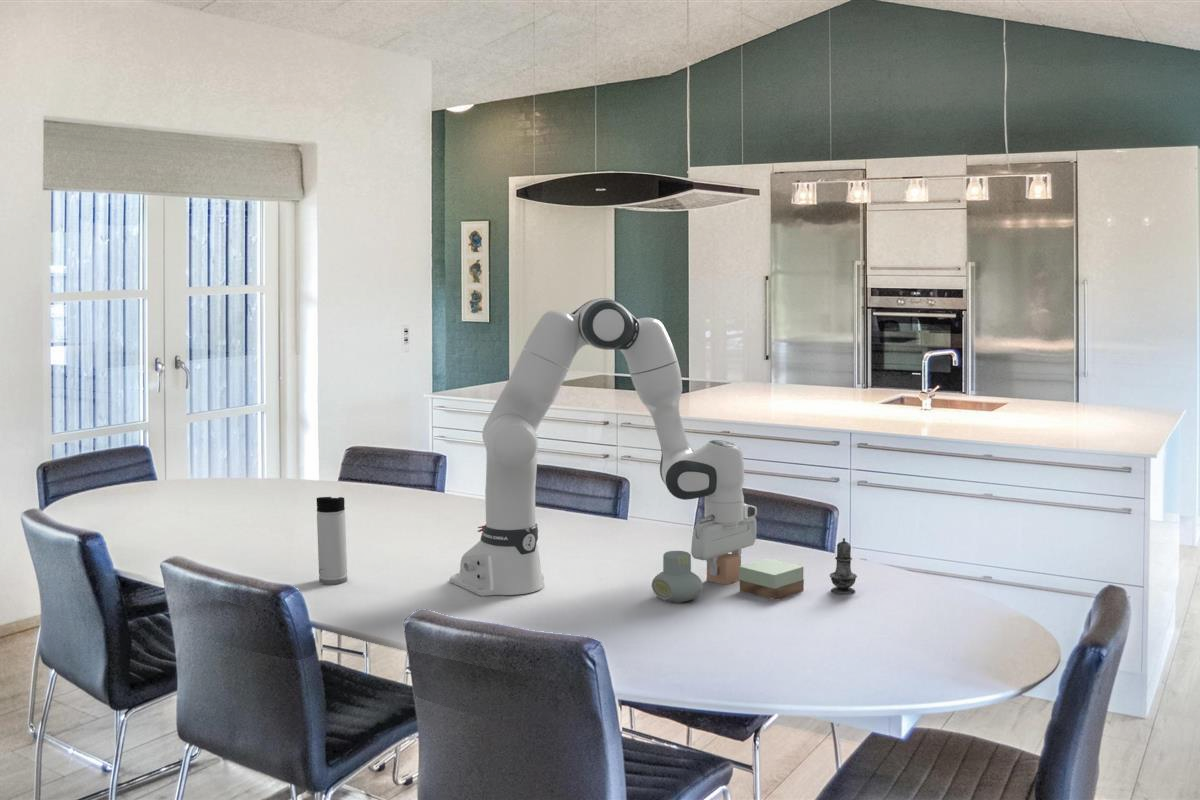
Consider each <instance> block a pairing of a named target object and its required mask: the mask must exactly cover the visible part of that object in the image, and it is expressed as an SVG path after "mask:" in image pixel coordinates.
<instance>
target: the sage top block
mask: <svg viewBox="0 0 1200 800" xmlns="http://www.w3.org/2000/svg"><path fill="white" fill-rule="evenodd" d="M803 579H804V566H803V565H799V564H794V563H789V562H785V561H781V560H777V559H773V558H763V559H760V560H756V561H752V562H750V563H745V564H741V566H739V580H738V581H740V580H742V581H746V582H750V583H754V584H758V585H762V586H766V587H769V588H773V589H776V588H779V587H782V586H785V585H788V584H792V583H795V582H798V581H801V580H803Z"/></svg>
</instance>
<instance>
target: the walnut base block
mask: <svg viewBox="0 0 1200 800" xmlns="http://www.w3.org/2000/svg"><path fill="white" fill-rule="evenodd" d="M804 584H805V580H804V578H803V580H801V581H798V582H795V583H792V584H788V585H785V586H782V587H779V588H776V589H773V588H769V587H766V586H762V585H758V584H754V583H750V582H746V581H742V580H739V592H741V593H745V594H750V595H754V596H759V597H764V598H768V599H771V600H776V601H778V600H781V599H784V598H787V597H790V596H793V595H794V594H797V593H800V592H803V591H804V589H805V588H804Z"/></svg>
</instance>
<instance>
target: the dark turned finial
mask: <svg viewBox="0 0 1200 800" xmlns="http://www.w3.org/2000/svg"><path fill="white" fill-rule="evenodd" d="M851 551H852V550H851V544H850V543H849V542H847V541H846V538H845V537H842V541H840V542H838V543H837V545H836V556H835V561H836V568H835V571H834V572H831V573H830V574H829V577H830V581H831V582H832V584H833V585H834V587H832V588H831V589H830V592H831V593H833V594H836V595H844V596H845V595H847V596H848V595H854V594H855V593H856V590H855V589H853V587H852V586H854V585H855V583H856V579H857V578H858V576H857V575H858V574H856V573H853V572H852V569H851V561H852V560H853V558H852V557H851Z"/></svg>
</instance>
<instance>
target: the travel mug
mask: <svg viewBox="0 0 1200 800" xmlns="http://www.w3.org/2000/svg"><path fill="white" fill-rule="evenodd" d="M345 502H346V501H345V497H342V496H338V497H332V496H319V497H316V527H317V533H316V534H317V551H318V553H317V555H318V557H317V559H318V580H319V582H318V583H320V584H321V585H325V586H326V585H327V586H328V585H329V586H330V585H332V586H333V585H340V584H344V583H346V582H347V581H348V562H347V561H348V559H347V558H348V557H347V535H346V534H347V531H346V528H347V527H346V507H345Z"/></svg>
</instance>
